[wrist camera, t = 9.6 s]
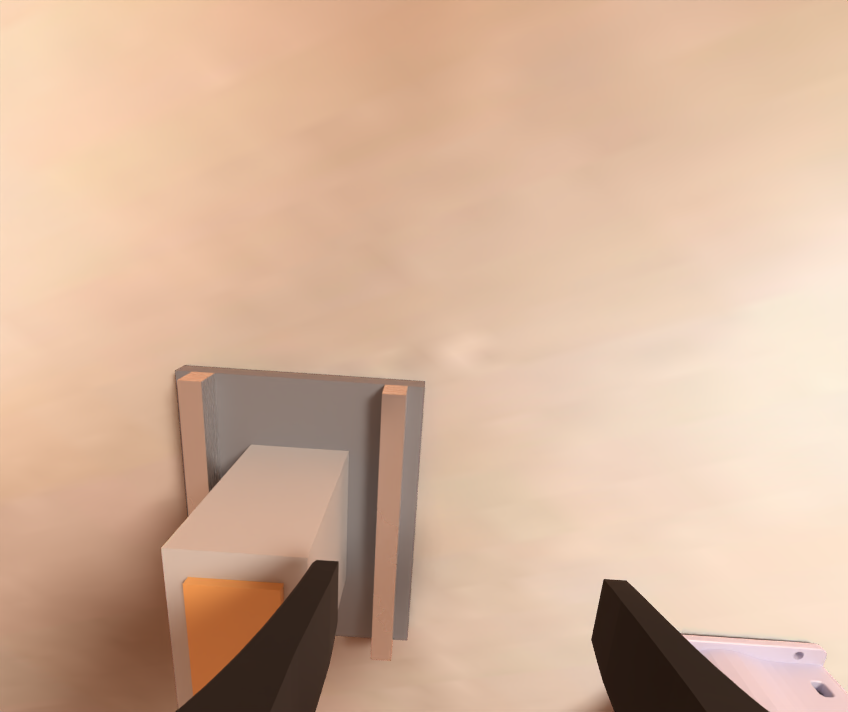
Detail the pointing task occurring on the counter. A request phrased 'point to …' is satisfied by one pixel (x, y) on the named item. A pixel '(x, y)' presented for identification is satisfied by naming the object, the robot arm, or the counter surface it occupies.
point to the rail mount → (331, 430)
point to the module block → (250, 553)
